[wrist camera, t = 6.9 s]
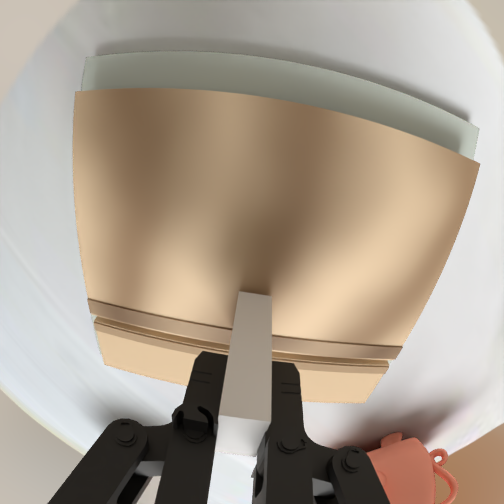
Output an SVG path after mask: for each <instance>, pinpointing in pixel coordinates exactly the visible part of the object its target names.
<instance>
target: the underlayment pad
mask: <svg viewBox="0 0 504 504" xmlns="http://www.w3.org/2000/svg"><path fill="white" fill-rule="evenodd" d="M121 88H174V89H194V90H208V91H219V92H229V93H238V94H246V95H253V96H260V97H267V98H273V99H279V100H285V101H290V102H295V103H300V104H305V105H310V106H315V107H319V108H324V109H328V110H332V111H336V112H340V113H344V114H348V115H351V116H355V117H359V118H362V119H366V120H369V121H372V122H376V123H379V124H382V125H385V126H388V127H391V128H394V129H397V130H400V131H403V132H406V133H409V134H411V135H414V136H417V137H420V138H422V139H425V140H427V141H430V142H432V143H435V144H437V145H440V146H442V147H445V148H447V149H449V150H452V151H454V152H456V153H458V154H461V155H463V156H465V157H467V158H469V159H471V160H473V159H474V154H475V149H476V144H477V139H478V134H479V128H478V127H476V126H474V125H472V124H470V123H469V122H467V121H465V120H463V119H461V118H459V117H457V116H455V115H453V114H451V113H449V112H447V111H445V110H442V109H440V108H438V107H436V106H434V105H431V104H429V103H427V102H424V101H422V100H420V99H417V98H415V97H412V96H410V95H407V94H405V93H402V92H399V91H397V90H394V89H391V88H388V87H386V86H383V85H380V84H377V83H374V82H371V81H367V80H364V79H361V78H358V77H354V76H351V75H347V74H343V73H340V72H336V71H332V70H328V69H324V68H319V67H315V66H311V65H306V64H301V63H296V62H291V61H285V60H279V59H273V58H266V57H259V56H251V55H242V54H232V53H220V52H203V51H147V52H130V53H118V54H108V55H100V56H92V57H86V60H85V66H84V73H83V80H82V87H81V91H88V90H101V89H121ZM91 316H92V321H93V326H94V330H95V335H96V339H97V343H98V347H99V351H100V354H102V357H103V361H104V364H105V365H108V366H111V367H114V368H117V369H121V370H124V371H128V372H131V373H135V374H139V375H142V376H146V377H150V378H154V379H158V380H162V381H167V382H171V383H176V384H180V385H185V386H188V382H189V379H190V375H191V372H192V368H193V364H194V361H195V359H196V357H197V356H198V355H199V354H200V353H201V352H202V351H207V352H213V353H218V354H224V355H228V354H229V348H230V345H227V344H221V343H215V342H209V341H203V340H198V339H193V338H188V337H183V336H178V335H173V334H168V333H164V332H159V331H154V330H150V329H146V328H142V327H137V326H133V325H129V324H125V323H121V322H117V321H114V320H110V319H106V318H102V317H99V316H95V315H92V314H91ZM272 361H279V362H288V363H294V364H295V366H296V368H297V370H298V371H299V373H300V383H301V385H300V386H301V395H302V401H303V402H323V403H365V401H366V400H367V399H368V397H369V396H370V394H371V393H372V391H373V390H374V388H375V387H376V385H377V384H378V382H379V381H380V379H381V377H382V376H383V374H385V373H386V371H387V370H388V368H389V365H390V363H391V361H392V360H370V359H351V358H336V357H323V356H312V355H302V354H292V353H283V352H275V351H272Z"/></svg>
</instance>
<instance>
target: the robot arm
mask: <svg viewBox="0 0 504 504" xmlns="http://www.w3.org/2000/svg"><path fill="white" fill-rule="evenodd" d="M300 385H301V383H300V373H299V371H298V370H297V368H296V366H295V364H294V363H288V362H279V361H272V296H267V295H261V294H254V293H248V292H241V291H239V294H238V300H237V306H236V312H235V318H234V324H233V330H232V336H231V342H230V348H229V354H228V355H224V354H218V353H213V352H207V351H202V352H201V353H200V354H199V355H198V356H197V357H196V359H195V361H194V364H193V368H192V372H191V375H190V379H189V382H188V386H187V390H186V393H185V397H184V401H183V404H181V405H180V406H179V407H177V408H176V409H175V410H174V412H173V414H172V422H171V423H169V424H166V425H162V426H142V425H141V424H139V423H138V422H137V421H134V420H131V419H118V420H115V421H113V422H112V423H111V424H109V425H108V426H107V428H106V429H105V430H104V432H103V433H102V434H101V435H100V437H99V438H98V439H97V441H96V442H95V443H94V444H93V446H92V447H91V448H90V449H89V451H88V452H87V453H86V455H85V456H84V457H83V458H82V460H81V461H80V462H79V464H78V465H77V466H76V468H75V469H74V470H73V471H72V473H71V474H70V476H69V477H68V478H67V479H66V480H65V482H64V483H63V484H62V486H61V487H60V488H59V489H58V491H57V492H56V493H55V495H54V496H53V497H52V499H51V500H50V501H49V503H48V504H137V502H138V500H139V499H140V497H141V496H142V494H143V492H144V491H145V489H146V487H147V486H148V484H149V483H150V481H151V479H152V478H153V476H161V478H160V482H159V486H158V490H157V495H156V499H155V503H154V504H207V500H208V493H209V487H210V480H211V473H212V466H213V460H214V453H215V452H221V453H228V454H235V455H243V456H253V457H256V455H257V464H256V466H255V468H254V470H253V472H252V475H251V477H252V478H254V481H253V496H252V504H390V501H389V499H388V497H387V495H386V493H385V490H384V488H383V486H382V484H381V482H380V479H379V477H378V475H377V473H376V471H375V469H374V466H373V464H372V462H371V460H370V458H369V456H368V455H367V453H366V452H365V451H363V450H362V449H360V448H358V447H355V446H345V447H343V448H341V449H339V450H334V449H331V448H327V447H324V446H321V445H318V444H316V443H315V442H313V441H312V440H311V439H310V438H309V437H308V436H307V434H306V432H305V430H304V423H303V408H302V395H301V386H300Z"/></svg>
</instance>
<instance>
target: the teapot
mask: <svg viewBox="0 0 504 504" xmlns="http://www.w3.org/2000/svg"><path fill="white" fill-rule="evenodd" d="M402 435H403V434H402V433H401V432H395V433H392V434H389V435H387V436H385V437H384V438H382V440H381V448H379V449H376V450H373V451H370V452H367V455H368V456H369V458H370V460H371V462H372V464H373V466H374V469H375V471H376V473H377V475H378V477H379V479H380V482H381V484H382V486H383V488H384V490H385V493H386V495H387V497H388V499H389V501H390V504H435V491H436V489H435V487H436V486H435V475H434V472H435V473H436V474H437V475H439V476H440V477H441V478H443V479H444V480H445V481H446V482H447V483H448V485H449V486H450V489H451V493H450V495H449V497H448V498H447V499H446V500H445V501H443V502H442V503H440V504H450V503H451V502H452V501H453V500H454V498H455V497H456V495H457V493H458V483H457V481H456V479H455V478H454V477H453V476H452V475H451V474H450V473H449V472H447V471H446V470H445V469H443V468H442V467H441V466H442V465H444V464H445V463H446V461H447V458H448V454H447V452H446V451H445V450H444V449H435V450H433V451H431V452H430V453H428V451H427V449H426V448H425V447H424V446H423V444H422V443H421V442H420V441H419V440H418V439H417V438H415V437H413V438H408V439H405V440H402ZM401 440H402V441H401ZM436 456H441V457H442V460H441V461H440V462H438V463H436V462H435V460H434V458H435V457H436Z"/></svg>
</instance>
